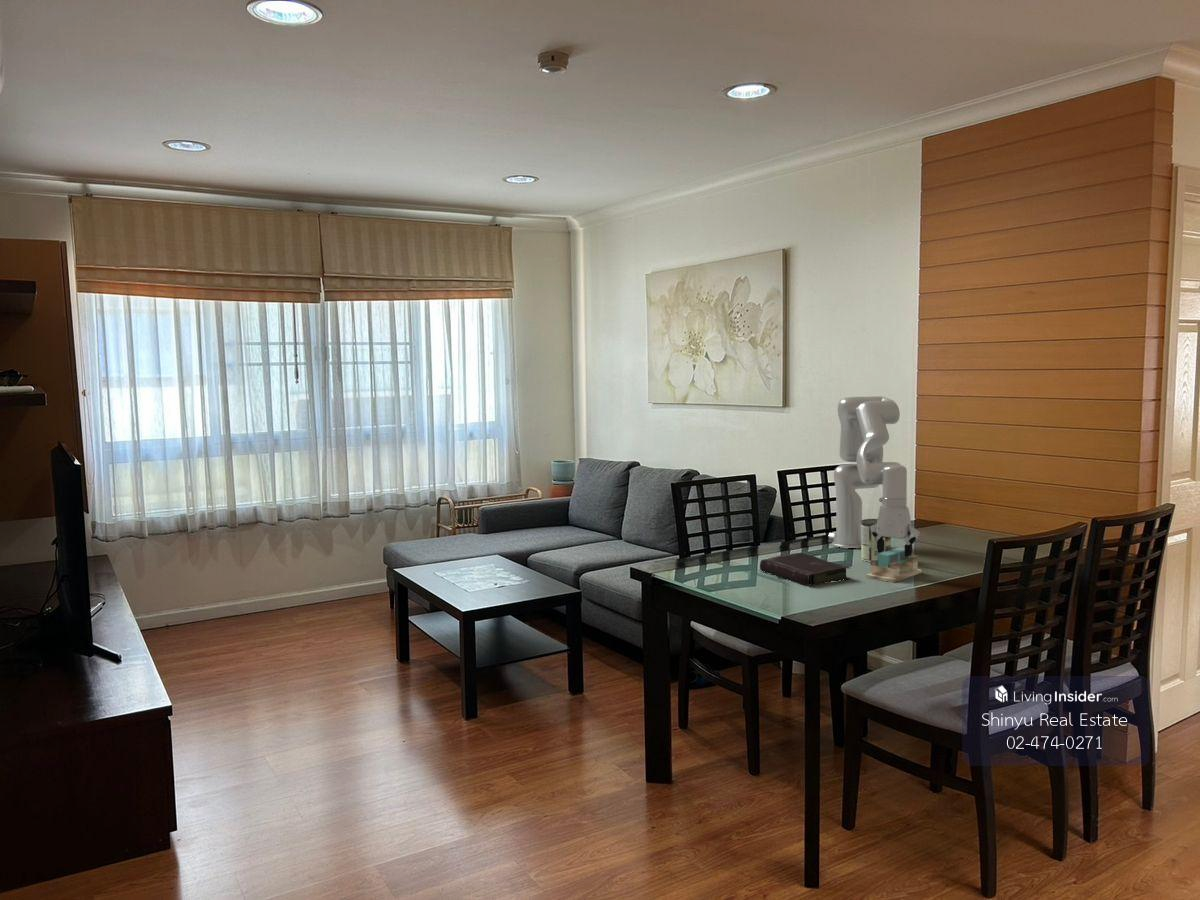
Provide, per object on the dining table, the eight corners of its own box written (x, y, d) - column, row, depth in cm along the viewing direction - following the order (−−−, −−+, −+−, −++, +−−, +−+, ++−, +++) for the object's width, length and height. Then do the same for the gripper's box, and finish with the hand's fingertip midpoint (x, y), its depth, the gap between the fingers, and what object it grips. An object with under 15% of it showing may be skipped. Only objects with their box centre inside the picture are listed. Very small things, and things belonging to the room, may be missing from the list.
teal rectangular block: (878, 566, 281) (878, 554, 280) (899, 558, 290) (899, 547, 290) (888, 567, 278) (888, 555, 278) (909, 560, 287) (909, 548, 287)
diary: (807, 589, 273) (807, 573, 272) (759, 573, 295) (759, 559, 295) (852, 580, 281) (852, 565, 280) (802, 565, 303) (802, 551, 303)
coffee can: (879, 555, 313) (879, 517, 312) (897, 561, 303) (897, 522, 302) (854, 558, 310) (854, 519, 309) (872, 564, 300) (872, 524, 299)
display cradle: (866, 577, 282) (866, 560, 281) (894, 568, 294) (894, 551, 293) (894, 582, 275) (894, 564, 274) (921, 572, 287) (922, 555, 286)
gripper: (864, 501, 286) (864, 552, 287) (913, 506, 273) (913, 559, 275) (876, 498, 291) (876, 548, 292) (925, 503, 278) (924, 555, 280)
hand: (894, 554), depth 284 cm, fingers open, 9 cm apart
